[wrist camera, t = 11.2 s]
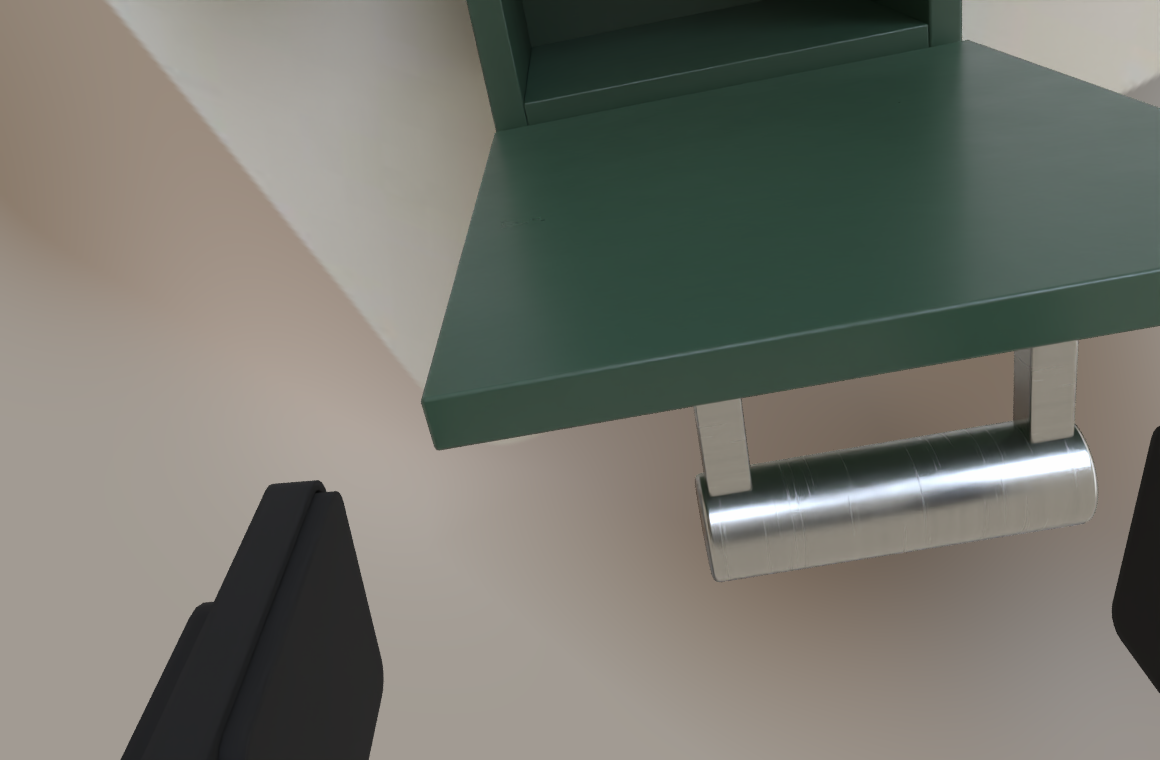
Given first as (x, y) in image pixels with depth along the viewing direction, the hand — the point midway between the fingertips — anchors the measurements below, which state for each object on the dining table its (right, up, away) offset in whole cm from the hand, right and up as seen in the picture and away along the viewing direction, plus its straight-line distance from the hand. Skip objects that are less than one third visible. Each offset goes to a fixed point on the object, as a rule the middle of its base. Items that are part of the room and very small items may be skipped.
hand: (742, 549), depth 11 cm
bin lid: (+2, +6, +8) cm, 10 cm away
